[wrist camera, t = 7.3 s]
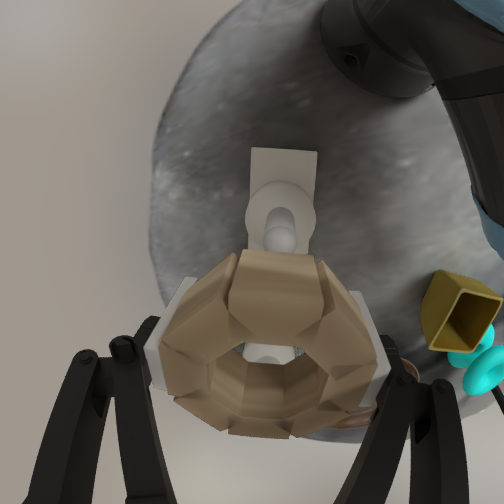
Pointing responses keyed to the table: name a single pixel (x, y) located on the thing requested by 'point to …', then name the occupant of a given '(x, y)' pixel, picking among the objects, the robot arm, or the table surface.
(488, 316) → the flower pot
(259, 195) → the rod stand
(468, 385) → the donuts
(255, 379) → the ring
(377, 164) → the table surface
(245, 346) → the hub stand
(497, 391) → the solar garden light
